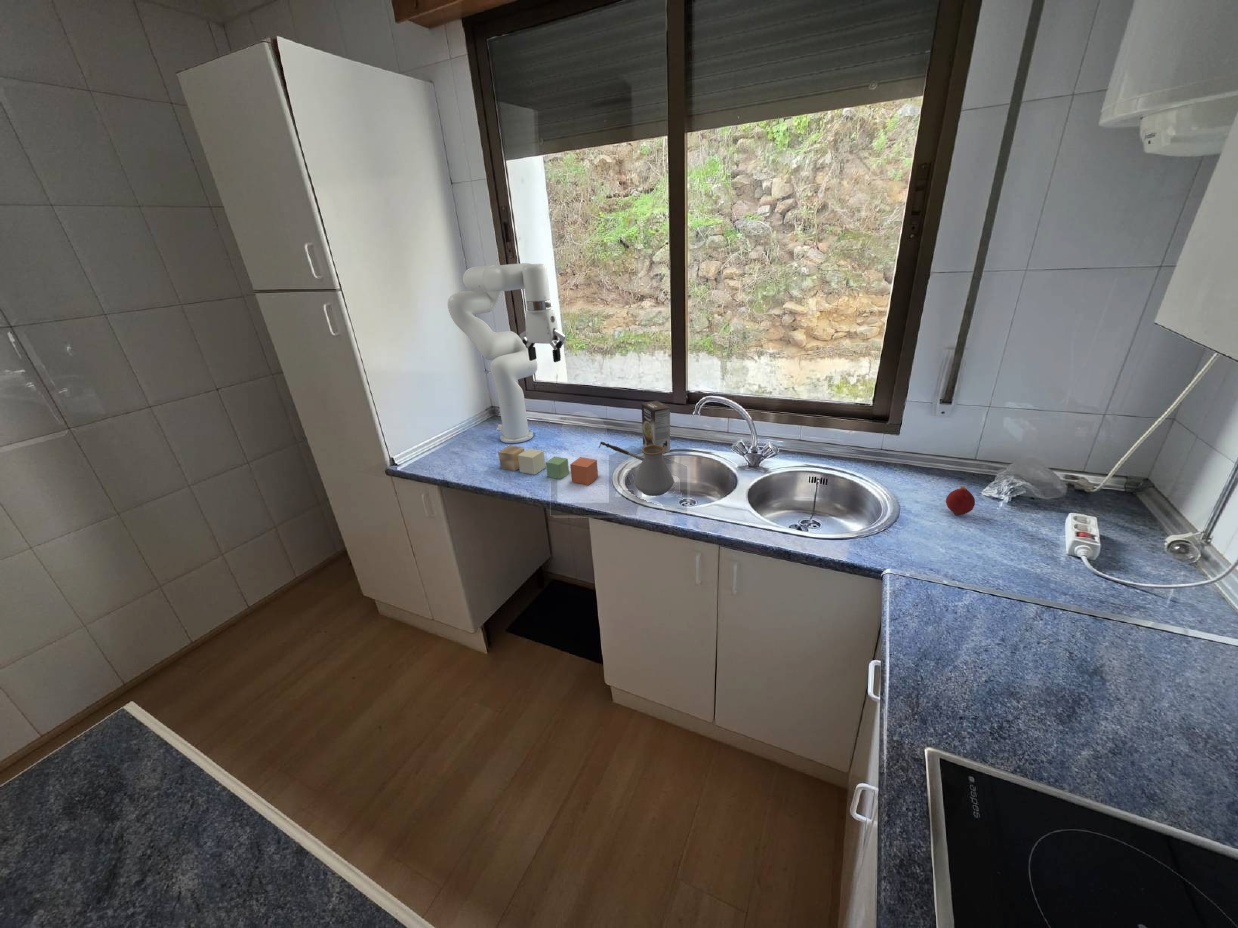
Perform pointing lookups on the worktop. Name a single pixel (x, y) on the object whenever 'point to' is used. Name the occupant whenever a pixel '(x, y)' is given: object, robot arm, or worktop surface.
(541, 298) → the robot arm
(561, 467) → the green block
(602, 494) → the worktop surface
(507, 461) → the block
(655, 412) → the coffee box
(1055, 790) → the worktop surface
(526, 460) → the block
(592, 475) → the block
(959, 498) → the onion
